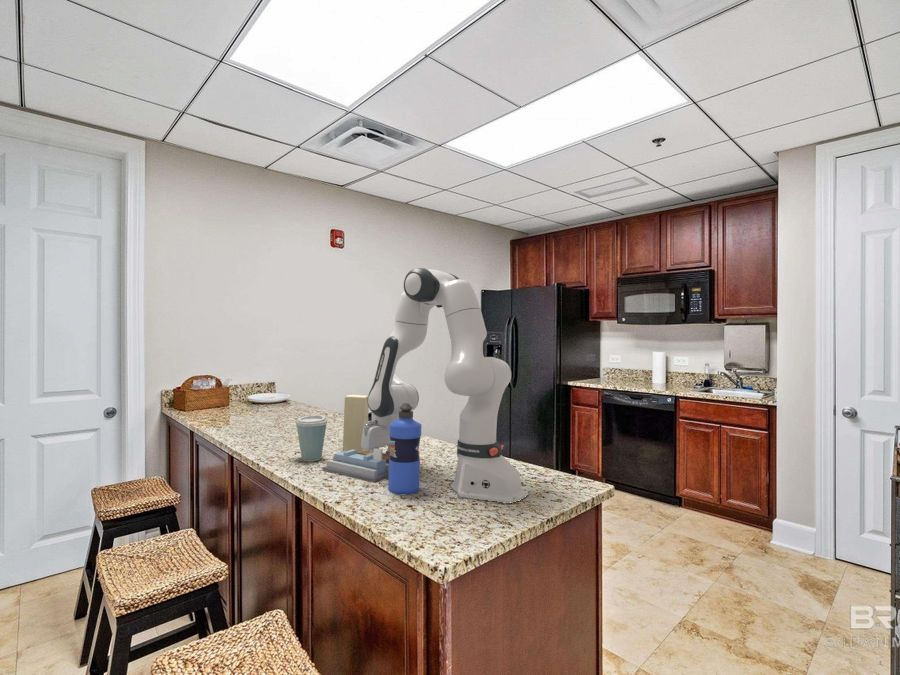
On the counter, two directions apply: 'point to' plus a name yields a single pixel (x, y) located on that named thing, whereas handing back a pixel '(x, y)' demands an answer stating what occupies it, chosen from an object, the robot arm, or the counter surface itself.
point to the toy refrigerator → (354, 421)
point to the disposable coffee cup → (311, 436)
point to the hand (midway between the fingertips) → (383, 457)
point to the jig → (356, 471)
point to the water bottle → (404, 453)
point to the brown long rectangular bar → (367, 452)
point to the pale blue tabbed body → (363, 459)
